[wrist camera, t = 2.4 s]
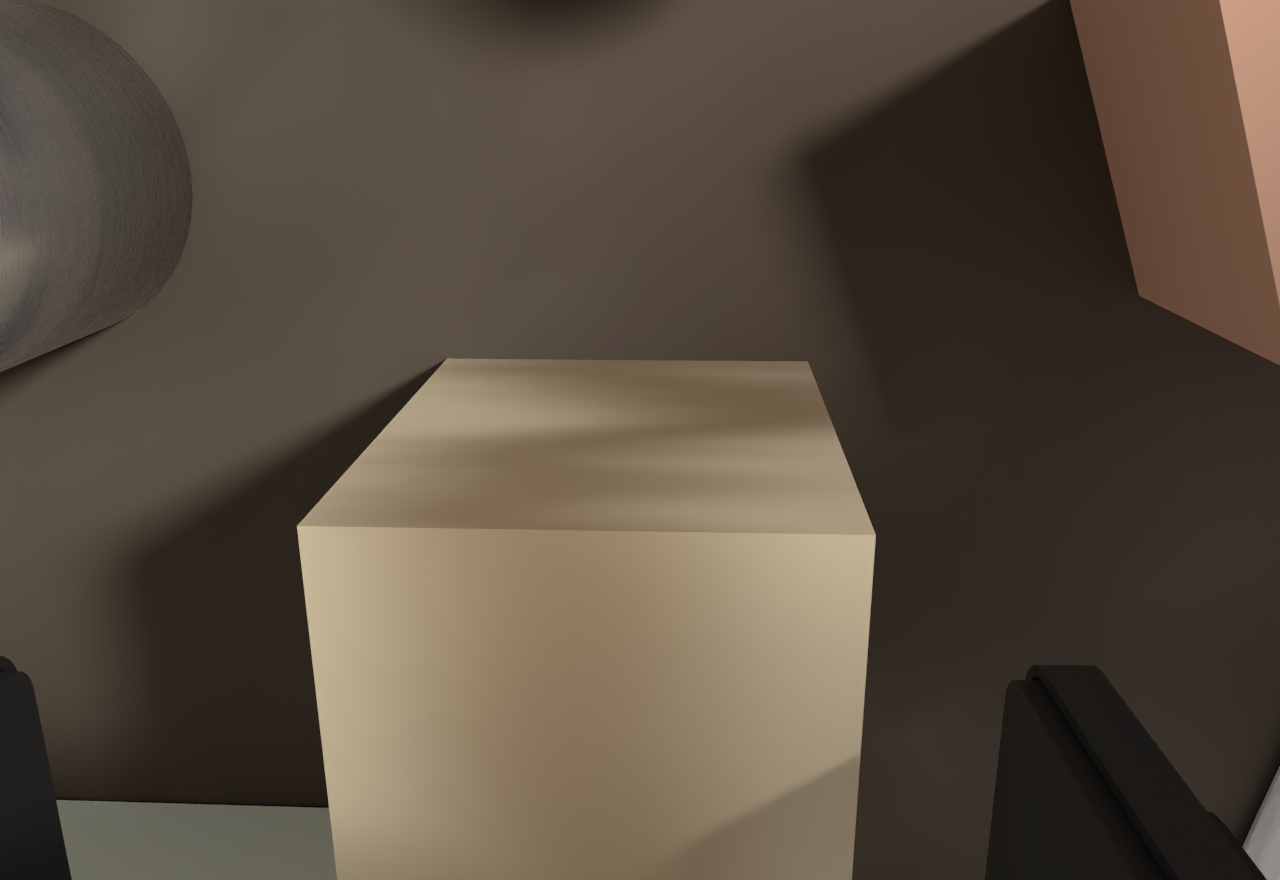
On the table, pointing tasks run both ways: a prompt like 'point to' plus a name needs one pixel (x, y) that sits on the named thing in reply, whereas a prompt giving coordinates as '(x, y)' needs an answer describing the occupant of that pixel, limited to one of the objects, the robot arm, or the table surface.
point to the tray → (196, 841)
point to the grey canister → (80, 182)
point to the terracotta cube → (1194, 153)
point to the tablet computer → (1267, 834)
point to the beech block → (594, 627)
